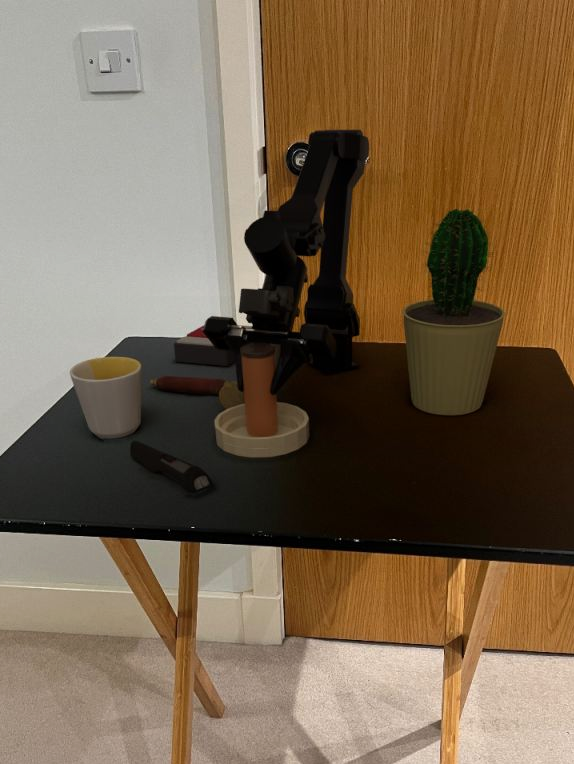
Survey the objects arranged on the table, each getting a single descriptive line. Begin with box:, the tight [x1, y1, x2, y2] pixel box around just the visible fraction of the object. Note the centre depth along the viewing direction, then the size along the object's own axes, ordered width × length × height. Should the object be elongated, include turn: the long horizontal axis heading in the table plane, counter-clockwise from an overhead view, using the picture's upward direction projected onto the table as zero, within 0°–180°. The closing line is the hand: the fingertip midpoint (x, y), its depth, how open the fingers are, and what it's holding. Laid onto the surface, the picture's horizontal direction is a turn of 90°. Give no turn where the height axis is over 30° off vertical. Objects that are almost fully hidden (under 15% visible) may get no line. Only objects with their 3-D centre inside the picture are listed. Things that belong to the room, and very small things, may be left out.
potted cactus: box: [401, 204, 506, 416], centre depth 116 cm, size 15×15×30 cm
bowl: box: [213, 401, 310, 459], centre depth 111 cm, size 14×14×4 cm
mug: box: [69, 356, 143, 440], centre depth 115 cm, size 14×10×10 cm
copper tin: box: [240, 343, 278, 437], centre depth 108 cm, size 5×5×12 cm
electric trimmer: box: [129, 440, 214, 495], centre depth 103 cm, size 4×16×3 cm, turn 45°
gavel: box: [149, 375, 245, 410], centre depth 128 cm, size 21×5×10 cm
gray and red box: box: [173, 324, 255, 367], centre depth 147 cm, size 11×4×15 cm
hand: (255, 392), depth 107 cm, fingers closed on copper tin, 4 cm apart
